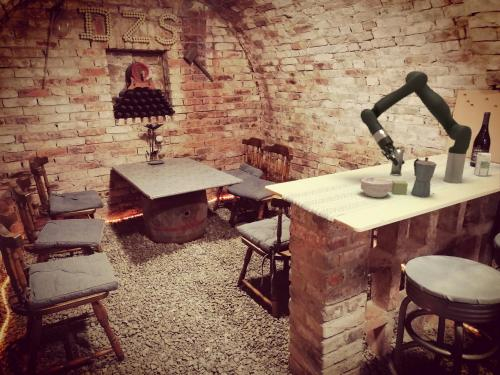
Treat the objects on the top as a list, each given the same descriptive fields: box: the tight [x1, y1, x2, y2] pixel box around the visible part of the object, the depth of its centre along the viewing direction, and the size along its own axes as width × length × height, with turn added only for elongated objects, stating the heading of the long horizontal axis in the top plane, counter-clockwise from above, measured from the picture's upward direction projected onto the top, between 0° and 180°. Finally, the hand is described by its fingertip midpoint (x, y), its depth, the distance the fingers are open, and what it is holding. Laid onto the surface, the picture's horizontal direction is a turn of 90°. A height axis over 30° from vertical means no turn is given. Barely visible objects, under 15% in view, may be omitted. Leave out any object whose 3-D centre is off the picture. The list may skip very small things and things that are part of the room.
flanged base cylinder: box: [389, 148, 405, 177], centre depth 190 cm, size 6×6×14 cm
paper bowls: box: [360, 177, 393, 198], centre depth 182 cm, size 15×15×8 cm
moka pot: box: [411, 157, 437, 198], centre depth 181 cm, size 10×15×20 cm, turn 16°
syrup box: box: [473, 152, 492, 177], centre depth 225 cm, size 6×6×14 cm
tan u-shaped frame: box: [390, 180, 409, 196], centre depth 191 cm, size 16×10×6 cm, turn 171°
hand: (400, 164), depth 189 cm, fingers closed on flanged base cylinder, 5 cm apart
